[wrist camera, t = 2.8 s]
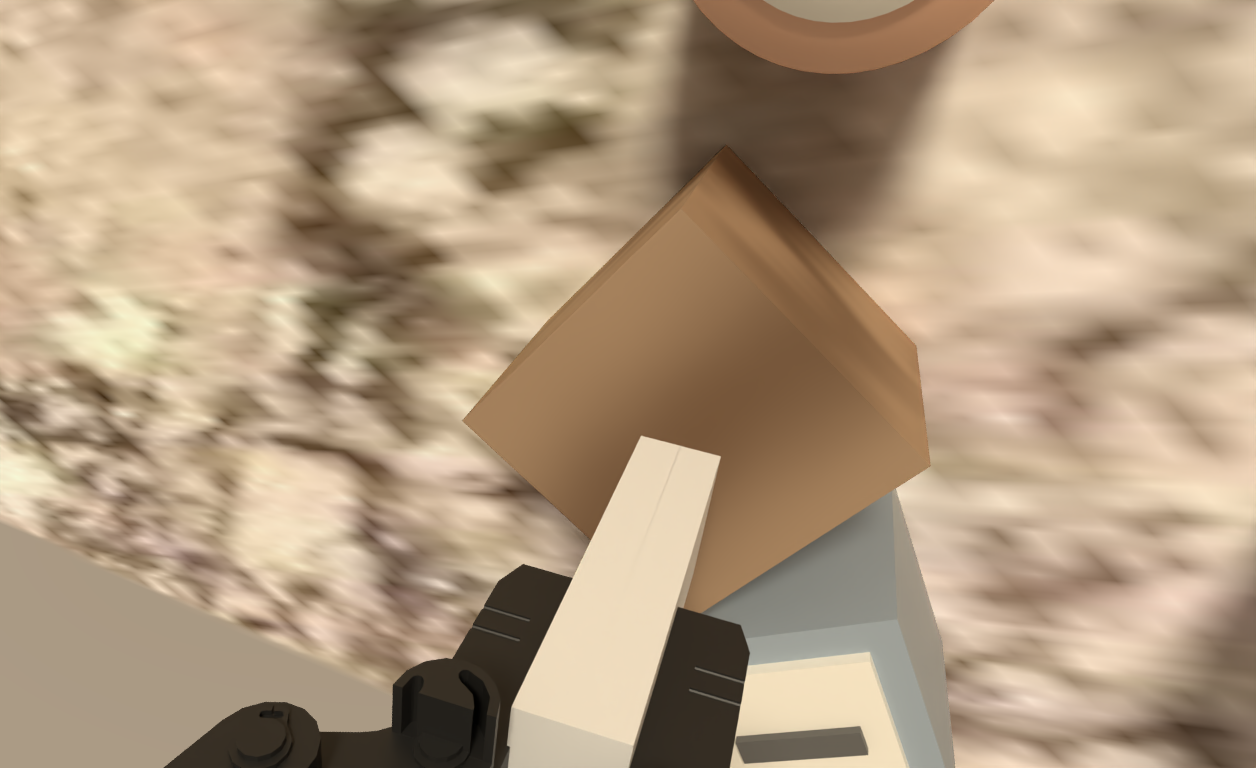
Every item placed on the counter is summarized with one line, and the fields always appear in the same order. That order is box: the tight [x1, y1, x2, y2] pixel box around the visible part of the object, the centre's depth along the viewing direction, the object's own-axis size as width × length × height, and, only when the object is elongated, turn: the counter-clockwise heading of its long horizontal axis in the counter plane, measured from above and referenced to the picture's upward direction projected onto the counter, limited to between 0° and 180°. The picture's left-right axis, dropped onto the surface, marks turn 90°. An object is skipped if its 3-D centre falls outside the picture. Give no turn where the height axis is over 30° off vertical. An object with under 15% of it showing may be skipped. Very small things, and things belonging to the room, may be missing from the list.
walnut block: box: [462, 145, 930, 613], centre depth 21 cm, size 7×7×6 cm
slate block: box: [701, 488, 955, 768], centre depth 23 cm, size 6×6×6 cm
